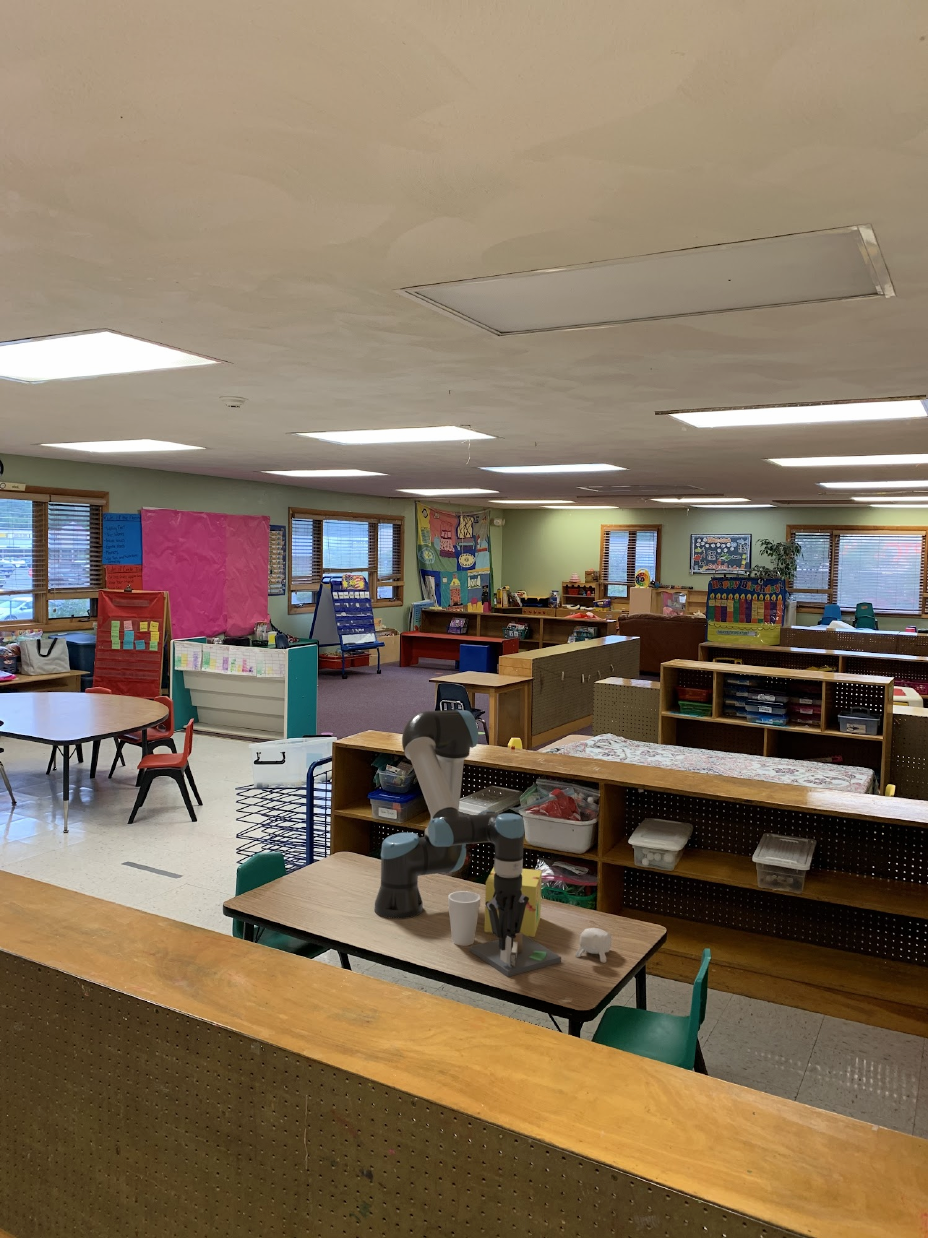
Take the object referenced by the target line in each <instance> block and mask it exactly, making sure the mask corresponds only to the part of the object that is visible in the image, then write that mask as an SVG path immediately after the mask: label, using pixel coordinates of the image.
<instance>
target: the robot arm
mask: <svg viewBox="0 0 928 1238" xmlns="http://www.w3.org/2000/svg"><path fill="white" fill-rule="evenodd" d="M478 743H479V728H478V724H477V720H476V719H475V717H474V715H473V713H472V712H470V711H469V710H463V709H454V710H453V709H452V710H451V709H450V710H431V711H430V710H424V711H421V712H418V713H417V714H414V715H413V716H412V717H411V718H410V719H409V720H408V721H407V723H406V725H405V726H404V728H403V731H402V736H401V745H402V750H403V753H404V755H405V757H406V758H407V759H408V760H410V761H411V765H412V767H413V771H414V772H415V775H416V779H417V780H418V783H419V786H420V789H421V792H422V794H423V797H424V800H425V804H426V805H427V808H428V812H429V814H430V820H429V822H428V826H427V827H426V828H425V829H424V836H422V837H419V835H418V834H417V833H414V832H398V833H395V834H391V835H389V836H387V837H386V838H385V839H383V841H382V844H381V850H380V851H381V852H380V859H381V860H380V861H381V862H380V863H381V864H380V865H381V866H380V887H379V889H378V892H377V894H376V897H375V898H376V899H375V901H374V912H375V913H376V915H379V916H381V917H384V918H390V919H409V918H413V917H416V916H419V915H420V914H421V913H422V912H423V905H424V904H423V899H422V896H421V893H420V890H419V886H418V882H419V881H418V879H419V876H427V875H435V874H437V875H438V874H449V873H452V872H457V871H459V870H460V869H461V868H462V867H463V865H464V863H465V861H466V857H467V848H466V846H467V845H470V844H471V845H472V844H473V845H474V844H481V843H482V844H483V843H491V844H493V845H494V861H493V862H494V865H493V867H494V871H495V874H494V889H495V892H494V895H493V899H492V900H491V901H490V902H488V901H487V902H486V903H484V904H485V905H484V906H486V907H487V908H488V911H489V916H490V922H491V927H492V932H491V934H492V935H493V936H494V937H496V938H498V939H499V949H501V956H500V959H501V960H502V961H504V962H505V963H509V962H510V960H511V948H513V938H515V937H516V935H515V934H516V933H520V929H521V925H522V920H523V916H524V911H525V907H526V904H527V903H528V901H529V897H527V896H525V895H523V894H522V891H521V888H522V875H521V873H522V869H524V867H523V863H524V859H523V858H524V840H525V839H524V837H525V824H524V823H525V821H524V817H522V815H519V814H515V813H510V812H509V813H498V812H495V811H494V810H493V811H492V810H491V809H485V810H482V811H480V812H479V813H477V814H472V815H460V812H459V809H460V799H461V791H462V790H461V789H462V783H463V782H462V781H463V771H464V770H463V769H464V763H465V759H467V758H469V756H470V751H471V749H473V748H474V747H477V745H478ZM496 903H497V905H498V911H499V918H498V913H497V910H496V908H497V906H496Z"/></svg>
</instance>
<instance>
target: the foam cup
mask: <svg viewBox="0 0 928 1238" xmlns="http://www.w3.org/2000/svg"><path fill="white" fill-rule="evenodd" d="M447 898H448V899H447V907H448V913H449V923H450V924H449V925H450V933H451V941H452V943H453V944H454V945H457V946H464V947H465V946H466V947H467V946H472V945H473V944H474V943H475V938H476V937H475V936H476V930H477V923H478V917H479V912H480V907H481V895H480V894H478V893H476V892H474V891H469V890H468V891H466V890H461V891H460V890H457V891H453V892H451V893H449V894H448V896H447Z"/></svg>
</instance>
